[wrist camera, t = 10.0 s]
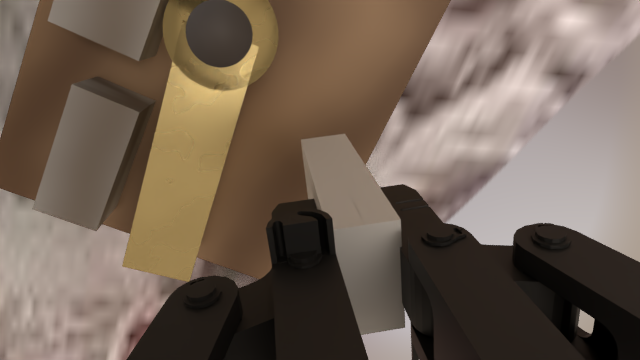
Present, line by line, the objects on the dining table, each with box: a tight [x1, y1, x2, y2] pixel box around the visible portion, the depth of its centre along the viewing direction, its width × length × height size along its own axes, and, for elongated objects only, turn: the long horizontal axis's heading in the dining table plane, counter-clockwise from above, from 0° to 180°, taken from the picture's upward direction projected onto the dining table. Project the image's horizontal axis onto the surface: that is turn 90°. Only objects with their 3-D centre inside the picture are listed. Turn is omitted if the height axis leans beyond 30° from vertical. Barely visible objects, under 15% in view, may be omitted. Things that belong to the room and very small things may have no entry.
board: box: [0, 0, 451, 279], centre depth 20 cm, size 17×24×6 cm
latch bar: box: [122, 0, 279, 282], centre depth 21 cm, size 13×4×4 cm, turn 161°
